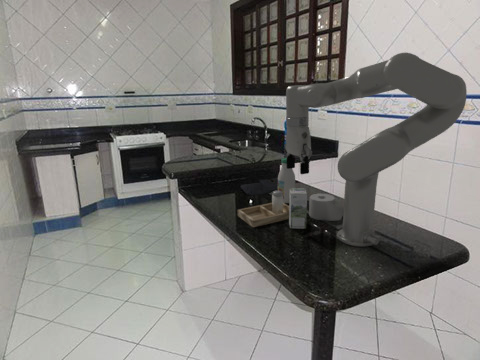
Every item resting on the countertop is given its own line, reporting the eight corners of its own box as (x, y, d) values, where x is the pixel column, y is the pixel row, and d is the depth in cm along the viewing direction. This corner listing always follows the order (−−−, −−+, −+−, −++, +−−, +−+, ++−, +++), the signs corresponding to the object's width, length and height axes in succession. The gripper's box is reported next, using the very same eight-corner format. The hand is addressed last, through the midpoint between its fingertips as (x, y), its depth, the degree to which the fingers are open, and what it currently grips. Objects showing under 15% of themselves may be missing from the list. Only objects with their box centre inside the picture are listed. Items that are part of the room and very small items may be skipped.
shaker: (285, 214, 130) (285, 192, 127) (275, 216, 128) (276, 194, 125) (279, 211, 133) (279, 189, 131) (270, 213, 132) (270, 191, 129)
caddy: (298, 219, 127) (298, 210, 126) (253, 229, 119) (252, 220, 118) (279, 208, 139) (279, 201, 138) (237, 218, 130) (237, 209, 129)
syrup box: (304, 224, 122) (305, 187, 118) (306, 231, 117) (307, 192, 113) (288, 224, 123) (289, 187, 119) (290, 231, 117) (290, 192, 113)
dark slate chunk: (237, 188, 170) (237, 180, 168) (275, 183, 177) (275, 175, 176) (248, 197, 156) (248, 187, 155) (289, 191, 163) (289, 182, 162)
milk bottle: (294, 199, 150) (295, 156, 144) (295, 205, 142) (296, 160, 137) (277, 199, 150) (277, 156, 145) (277, 205, 143) (277, 160, 138)
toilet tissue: (344, 224, 122) (346, 202, 119) (308, 221, 125) (309, 200, 123) (343, 215, 130) (344, 194, 128) (309, 213, 133) (310, 193, 131)
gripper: (321, 123, 106) (320, 174, 110) (294, 120, 121) (294, 165, 126) (300, 125, 103) (300, 177, 108) (276, 121, 119) (277, 167, 123)
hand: (297, 170), depth 117 cm, fingers open, 9 cm apart
